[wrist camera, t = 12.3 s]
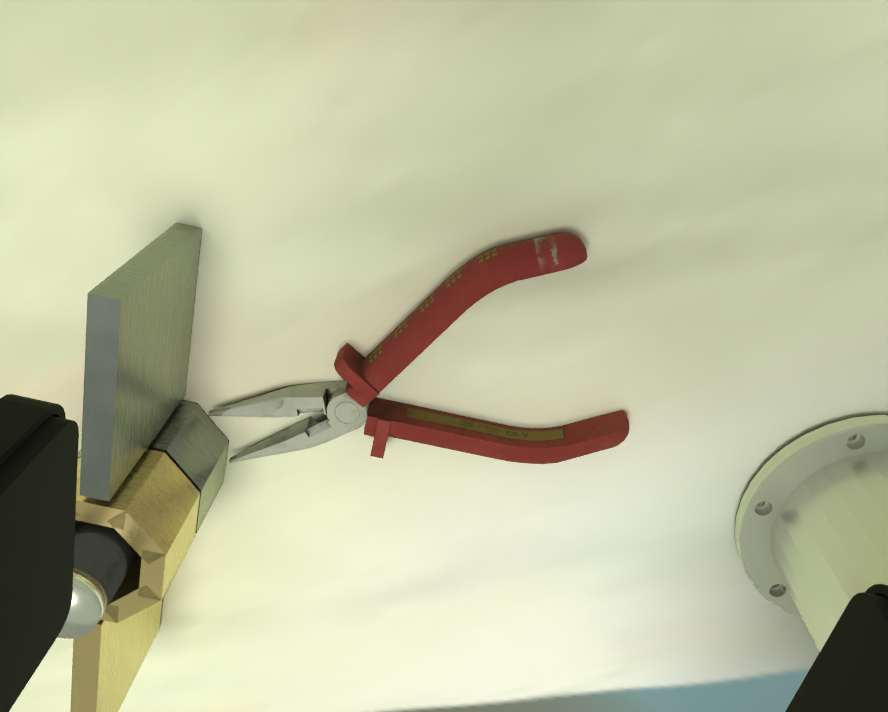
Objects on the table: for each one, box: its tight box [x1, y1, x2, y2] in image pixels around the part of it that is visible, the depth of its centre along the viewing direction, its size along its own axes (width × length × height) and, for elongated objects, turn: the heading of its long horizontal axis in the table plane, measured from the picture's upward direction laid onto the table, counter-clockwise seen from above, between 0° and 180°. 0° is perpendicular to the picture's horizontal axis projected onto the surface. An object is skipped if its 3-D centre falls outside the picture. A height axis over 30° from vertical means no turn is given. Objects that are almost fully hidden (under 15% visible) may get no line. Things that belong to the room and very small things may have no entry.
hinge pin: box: [57, 521, 139, 639], centre depth 37 cm, size 3×3×12 cm
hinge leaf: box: [71, 449, 200, 712], centre depth 40 cm, size 6×16×9 cm, turn 167°
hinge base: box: [78, 223, 229, 534], centre depth 37 cm, size 6×16×9 cm, turn 167°
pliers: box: [209, 233, 629, 464], centre depth 40 cm, size 12×20×3 cm, turn 107°
